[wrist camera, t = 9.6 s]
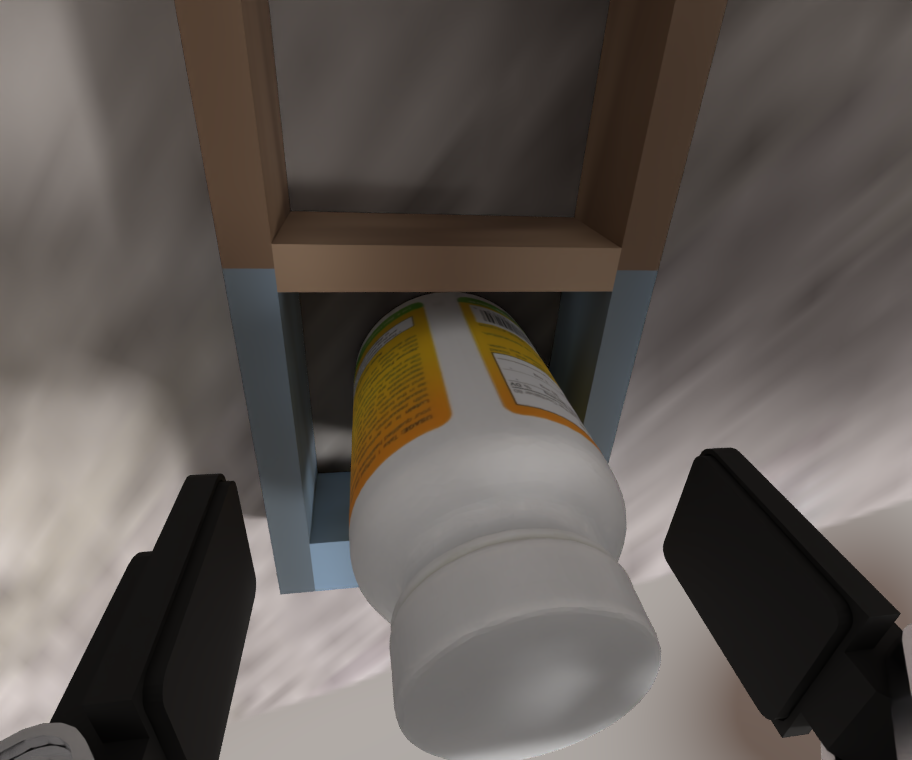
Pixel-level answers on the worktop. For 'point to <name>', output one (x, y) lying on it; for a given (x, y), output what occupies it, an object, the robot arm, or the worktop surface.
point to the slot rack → (435, 244)
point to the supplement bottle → (489, 539)
